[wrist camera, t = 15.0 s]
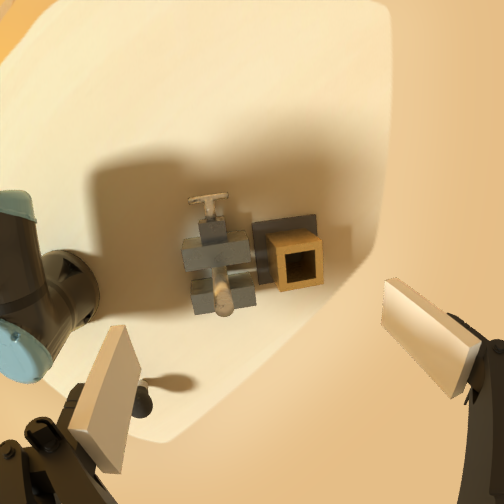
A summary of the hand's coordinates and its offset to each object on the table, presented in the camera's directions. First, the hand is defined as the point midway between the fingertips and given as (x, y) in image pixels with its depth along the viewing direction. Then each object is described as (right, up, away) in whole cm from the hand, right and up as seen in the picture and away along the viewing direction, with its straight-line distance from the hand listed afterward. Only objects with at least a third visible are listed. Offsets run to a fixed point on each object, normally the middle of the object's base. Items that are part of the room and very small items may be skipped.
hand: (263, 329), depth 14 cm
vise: (-7, +5, +36) cm, 37 cm away
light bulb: (-24, -24, +43) cm, 55 cm away
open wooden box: (+5, +4, +38) cm, 38 cm away
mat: (+5, +4, +38) cm, 39 cm away
